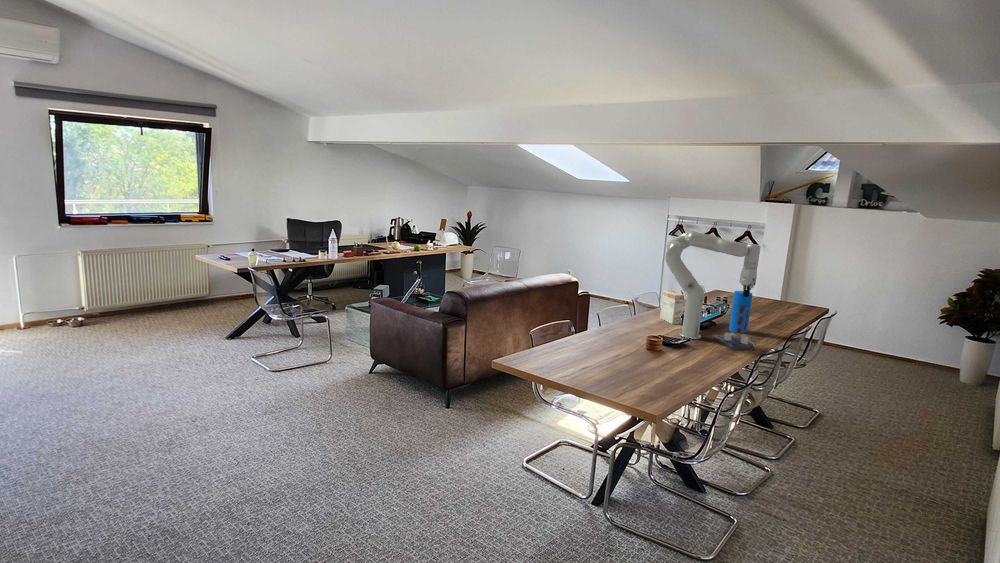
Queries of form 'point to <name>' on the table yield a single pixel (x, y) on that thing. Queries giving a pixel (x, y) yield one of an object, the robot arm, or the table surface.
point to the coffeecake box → (671, 306)
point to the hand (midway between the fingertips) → (745, 296)
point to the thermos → (740, 312)
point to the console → (733, 342)
